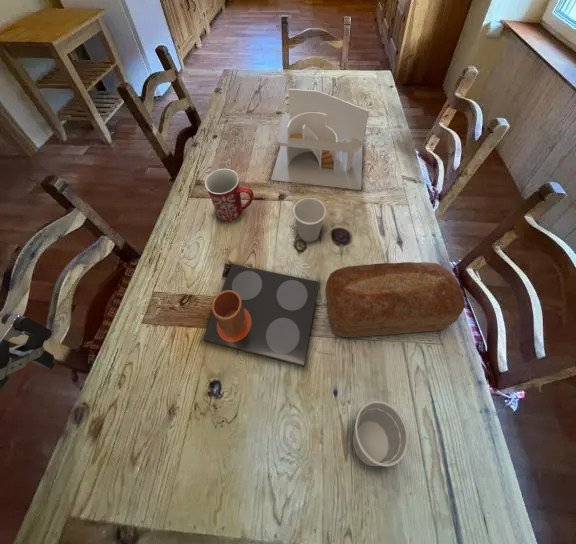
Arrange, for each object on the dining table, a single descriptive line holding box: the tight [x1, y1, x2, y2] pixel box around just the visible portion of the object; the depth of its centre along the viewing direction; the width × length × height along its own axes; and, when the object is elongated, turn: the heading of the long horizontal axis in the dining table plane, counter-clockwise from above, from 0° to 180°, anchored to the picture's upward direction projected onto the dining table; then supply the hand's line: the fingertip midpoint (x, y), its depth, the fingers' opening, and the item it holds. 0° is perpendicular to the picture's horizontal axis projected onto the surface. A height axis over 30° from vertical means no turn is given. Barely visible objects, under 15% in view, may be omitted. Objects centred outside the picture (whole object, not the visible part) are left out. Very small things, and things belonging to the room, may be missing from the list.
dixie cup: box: [292, 197, 327, 243], centre depth 89 cm, size 8×8×10 cm
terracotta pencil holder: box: [211, 290, 247, 337], centre depth 71 cm, size 6×6×10 cm
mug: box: [204, 168, 254, 223], centre depth 94 cm, size 13×9×14 cm
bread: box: [324, 261, 466, 338], centre depth 72 cm, size 12×28×14 cm, turn 94°
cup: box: [352, 400, 409, 467], centre depth 57 cm, size 8×8×12 cm
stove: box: [202, 263, 320, 368], centre depth 77 cm, size 18×22×2 cm
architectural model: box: [270, 88, 370, 191], centre depth 104 cm, size 28×21×23 cm
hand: (22, 403), depth 41 cm, fingers open, 8 cm apart
